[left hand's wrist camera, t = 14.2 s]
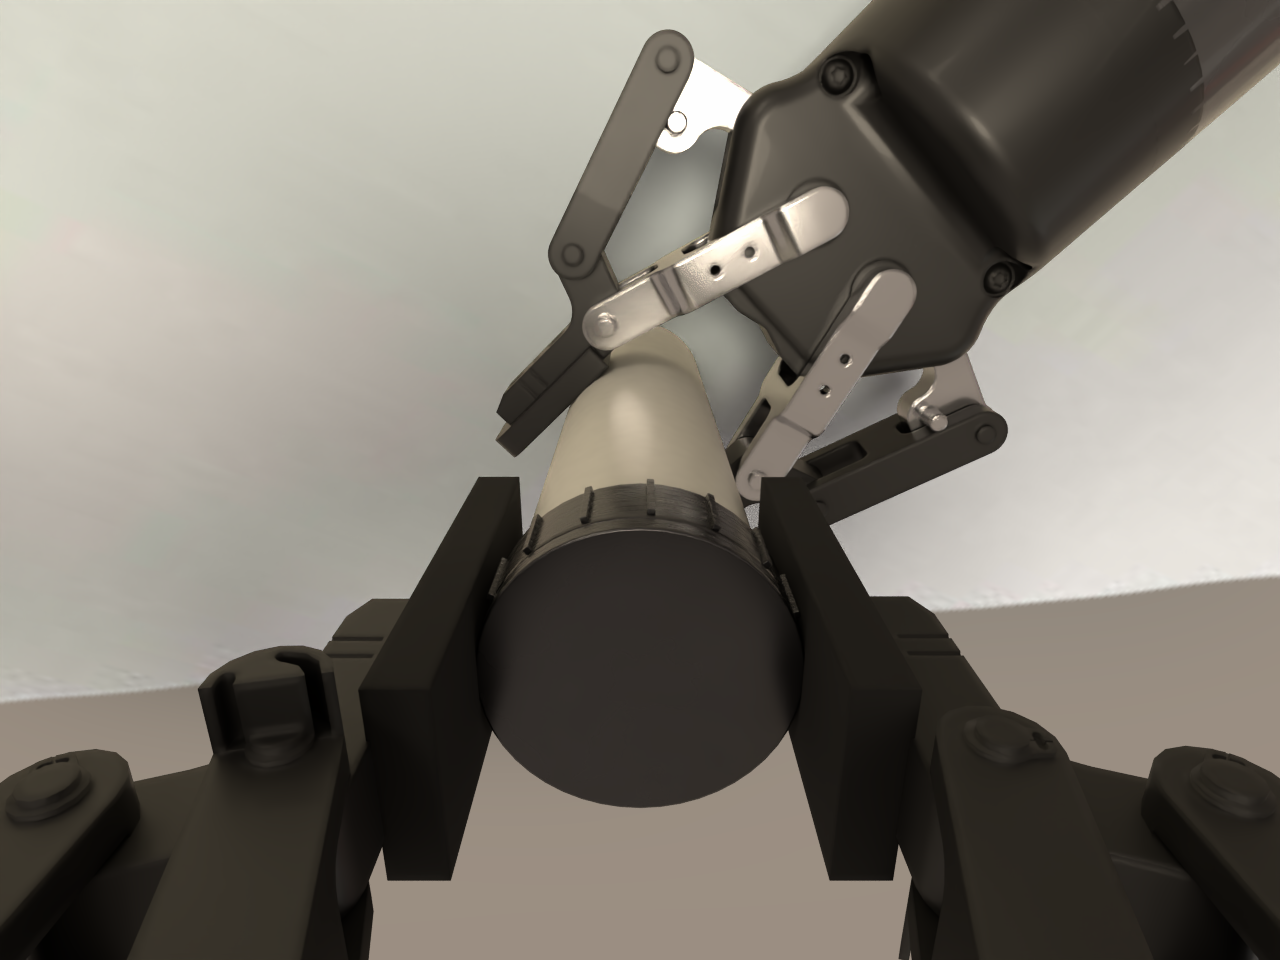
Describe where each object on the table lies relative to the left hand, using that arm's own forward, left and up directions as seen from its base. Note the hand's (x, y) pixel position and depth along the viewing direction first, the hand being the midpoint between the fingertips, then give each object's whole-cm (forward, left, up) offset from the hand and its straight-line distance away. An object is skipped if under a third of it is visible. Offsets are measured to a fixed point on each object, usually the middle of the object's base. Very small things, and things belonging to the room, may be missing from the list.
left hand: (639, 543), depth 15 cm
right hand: (-2, -2, -7) cm, 8 cm away
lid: (0, 0, +4) cm, 4 cm away
